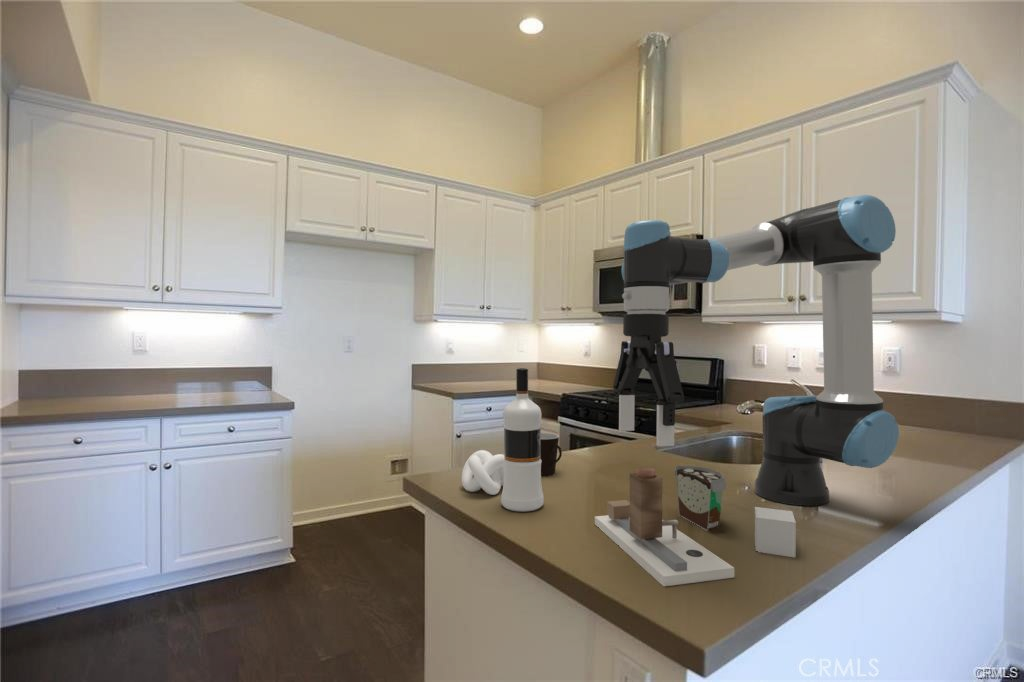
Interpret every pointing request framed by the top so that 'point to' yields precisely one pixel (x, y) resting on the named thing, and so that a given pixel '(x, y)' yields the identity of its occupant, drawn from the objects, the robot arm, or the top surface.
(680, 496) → the food container
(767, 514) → the white cube
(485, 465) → the white decorative knot
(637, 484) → the sliding handle
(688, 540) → the board
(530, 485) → the vodka
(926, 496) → the top surface
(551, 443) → the coffee mug
